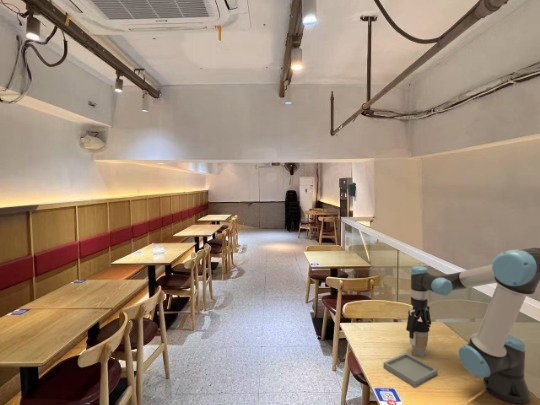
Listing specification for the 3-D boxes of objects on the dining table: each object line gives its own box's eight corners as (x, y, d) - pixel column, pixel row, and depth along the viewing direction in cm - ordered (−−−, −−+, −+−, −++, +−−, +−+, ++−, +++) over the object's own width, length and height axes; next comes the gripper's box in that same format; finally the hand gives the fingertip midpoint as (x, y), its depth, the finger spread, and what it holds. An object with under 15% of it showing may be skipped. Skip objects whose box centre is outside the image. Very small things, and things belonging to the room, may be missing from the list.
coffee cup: (432, 359, 144) (432, 329, 143) (411, 357, 146) (411, 327, 145) (426, 349, 153) (426, 320, 152) (406, 347, 155) (406, 319, 154)
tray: (437, 375, 132) (437, 369, 132) (415, 387, 124) (415, 381, 124) (405, 357, 146) (405, 352, 146) (383, 367, 138) (383, 362, 138)
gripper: (425, 291, 157) (425, 333, 158) (398, 299, 146) (398, 344, 147) (439, 295, 150) (439, 339, 151) (411, 304, 139) (411, 351, 140)
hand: (418, 341), depth 149 cm, fingers closed on coffee cup, 9 cm apart
